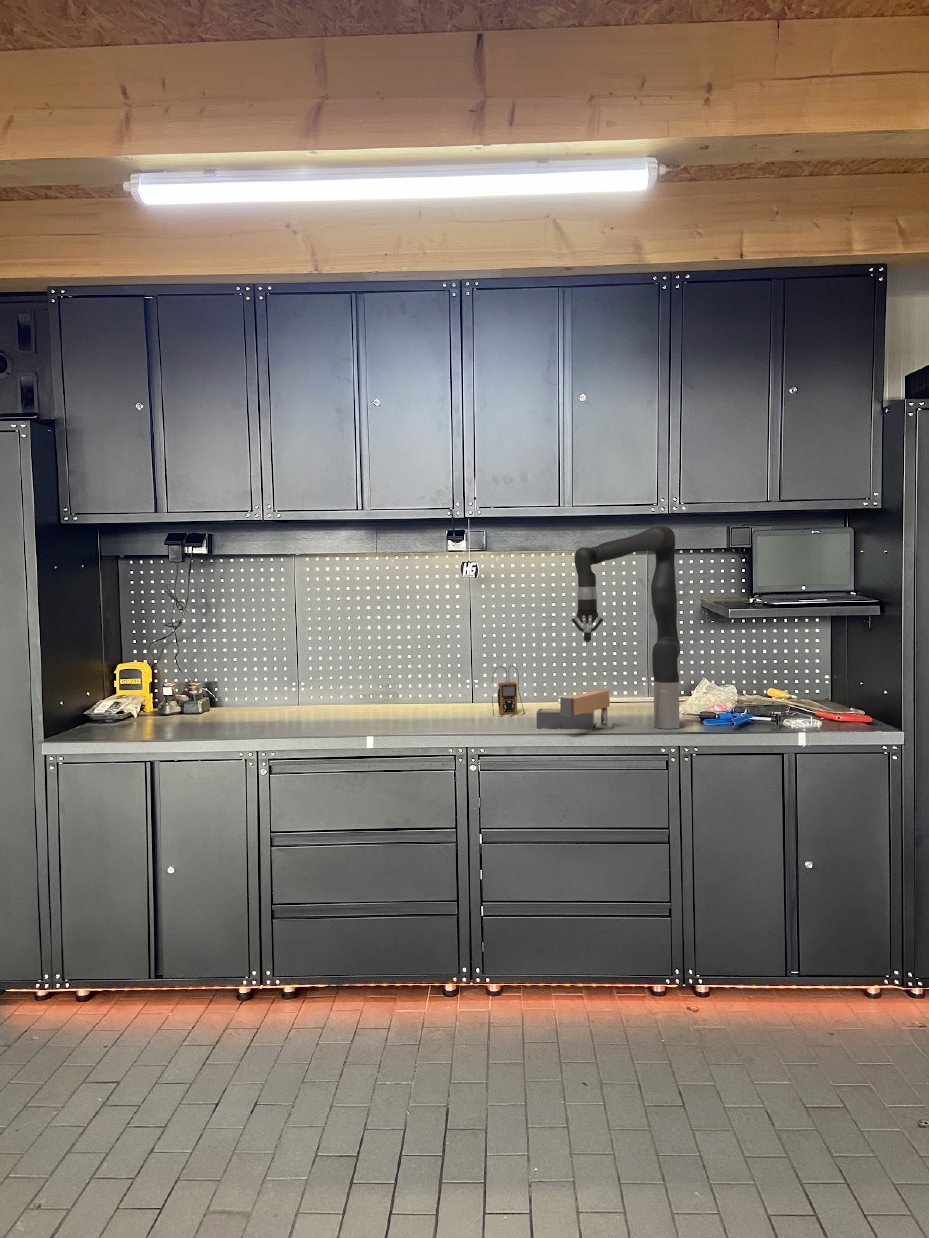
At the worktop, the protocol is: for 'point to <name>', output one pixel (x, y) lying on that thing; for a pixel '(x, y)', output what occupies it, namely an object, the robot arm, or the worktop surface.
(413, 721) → the worktop surface
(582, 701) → the bar
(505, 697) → the multimeter
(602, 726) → the hinge post
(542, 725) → the dark grey brick
